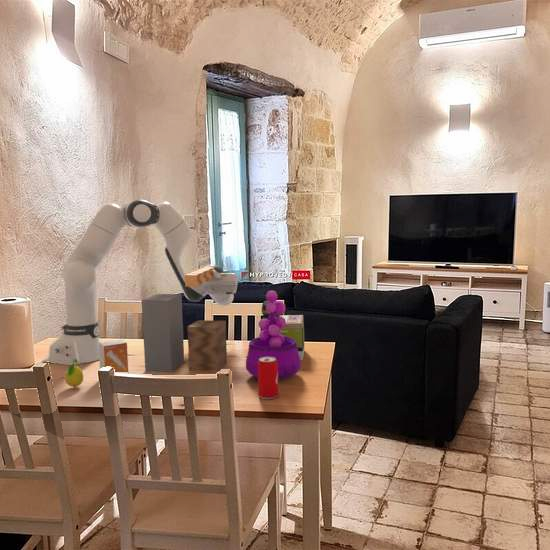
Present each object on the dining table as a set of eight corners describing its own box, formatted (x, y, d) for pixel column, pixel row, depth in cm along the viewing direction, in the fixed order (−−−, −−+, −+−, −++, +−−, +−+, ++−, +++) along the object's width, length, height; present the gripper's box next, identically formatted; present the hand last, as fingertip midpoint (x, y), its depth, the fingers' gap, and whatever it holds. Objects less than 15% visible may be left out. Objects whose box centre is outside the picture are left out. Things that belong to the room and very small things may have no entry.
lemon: (79, 383, 182) (77, 354, 180) (89, 386, 178) (87, 357, 177) (60, 388, 177) (58, 359, 175) (70, 392, 173) (68, 362, 172)
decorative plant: (264, 365, 197) (263, 284, 193) (310, 373, 188) (309, 288, 184) (235, 380, 181) (232, 292, 177) (283, 389, 172) (281, 296, 168)
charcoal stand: (159, 360, 206) (156, 293, 203) (184, 361, 204) (181, 294, 201) (145, 371, 193) (141, 300, 190) (171, 372, 192) (168, 300, 188)
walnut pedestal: (189, 370, 193) (187, 326, 191) (199, 361, 204) (197, 320, 202) (218, 371, 191) (217, 327, 189) (227, 362, 202) (225, 320, 200)
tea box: (280, 350, 218) (279, 314, 216) (304, 350, 217) (304, 314, 215) (276, 360, 203) (275, 322, 201) (303, 361, 202) (302, 322, 200)
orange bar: (204, 277, 207) (204, 267, 207) (214, 277, 207) (214, 267, 206) (185, 286, 186) (184, 275, 185) (196, 286, 185) (195, 275, 185)
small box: (105, 383, 181) (103, 346, 179) (100, 378, 186) (98, 342, 184) (129, 379, 185) (127, 342, 183) (123, 374, 190) (121, 338, 189)
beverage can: (281, 394, 167) (280, 356, 166) (274, 401, 161) (273, 362, 160) (262, 392, 169) (261, 355, 168) (255, 399, 164) (254, 360, 162)
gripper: (192, 278, 219) (181, 264, 206) (241, 278, 215) (233, 264, 202) (190, 292, 216) (179, 280, 204) (239, 293, 213) (231, 280, 200)
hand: (206, 272), depth 203 cm, fingers closed on orange bar, 4 cm apart
